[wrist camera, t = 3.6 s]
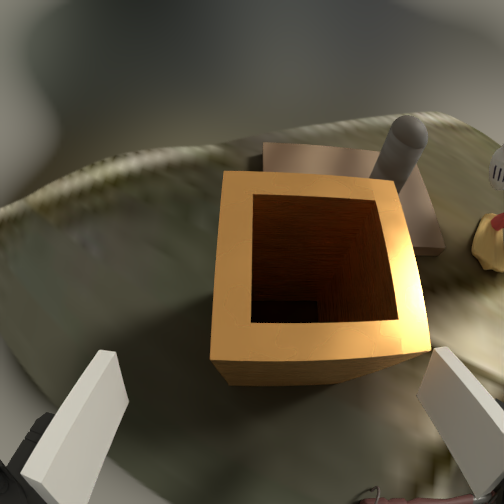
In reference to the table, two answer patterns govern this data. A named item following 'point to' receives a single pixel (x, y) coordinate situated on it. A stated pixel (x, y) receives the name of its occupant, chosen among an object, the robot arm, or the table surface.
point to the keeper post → (374, 173)
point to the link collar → (314, 279)
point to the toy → (492, 223)
